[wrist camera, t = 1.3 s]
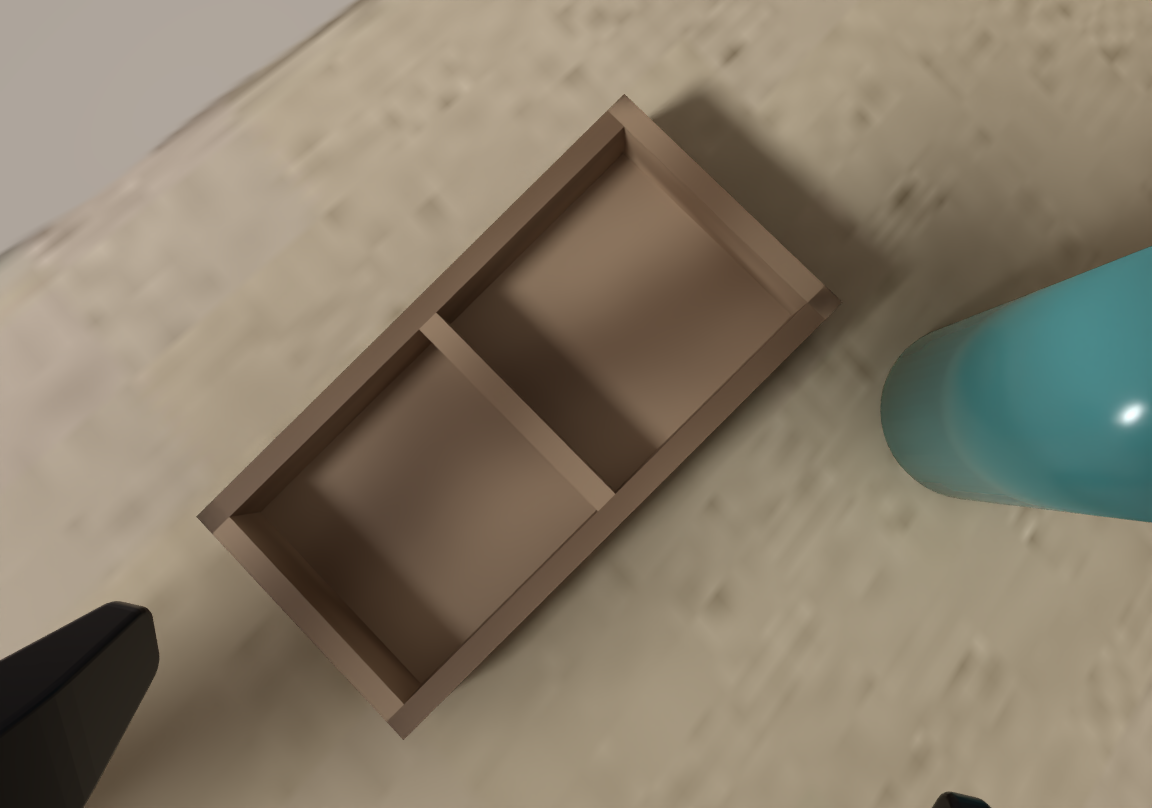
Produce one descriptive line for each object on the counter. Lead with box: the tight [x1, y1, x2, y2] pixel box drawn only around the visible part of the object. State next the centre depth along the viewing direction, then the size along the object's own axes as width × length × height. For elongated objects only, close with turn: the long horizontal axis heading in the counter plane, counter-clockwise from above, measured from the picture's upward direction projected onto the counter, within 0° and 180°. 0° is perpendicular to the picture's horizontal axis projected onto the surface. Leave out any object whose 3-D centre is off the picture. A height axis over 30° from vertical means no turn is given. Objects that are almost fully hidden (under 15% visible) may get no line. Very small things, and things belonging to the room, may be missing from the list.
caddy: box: [196, 94, 842, 740], centre depth 22 cm, size 8×15×3 cm, turn 135°
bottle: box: [880, 246, 1152, 522], centre depth 15 cm, size 5×5×14 cm
